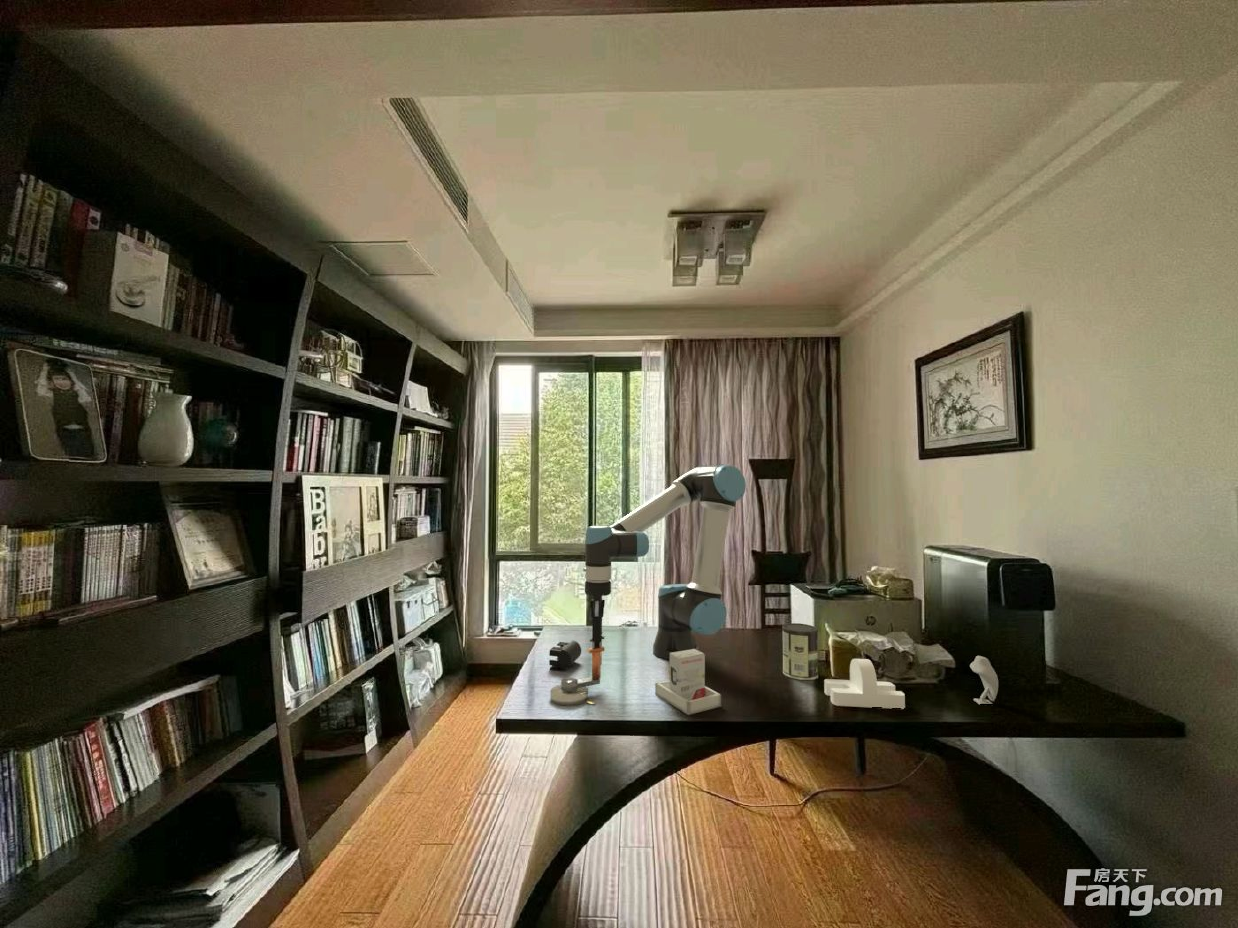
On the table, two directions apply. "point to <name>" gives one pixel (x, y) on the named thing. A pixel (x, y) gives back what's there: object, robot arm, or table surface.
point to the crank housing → (569, 696)
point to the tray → (688, 707)
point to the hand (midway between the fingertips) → (596, 663)
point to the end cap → (564, 655)
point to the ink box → (687, 674)
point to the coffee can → (800, 651)
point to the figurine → (985, 679)
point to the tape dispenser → (863, 688)
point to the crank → (574, 684)
